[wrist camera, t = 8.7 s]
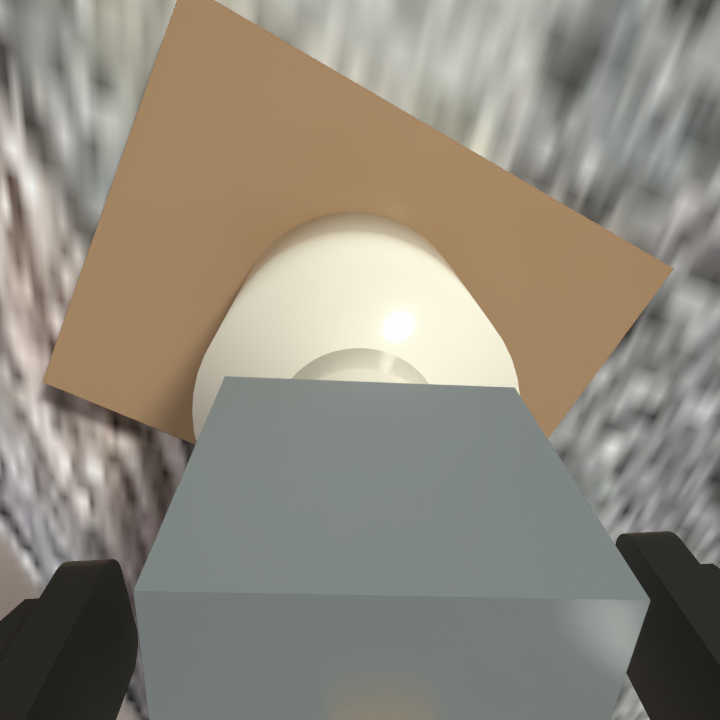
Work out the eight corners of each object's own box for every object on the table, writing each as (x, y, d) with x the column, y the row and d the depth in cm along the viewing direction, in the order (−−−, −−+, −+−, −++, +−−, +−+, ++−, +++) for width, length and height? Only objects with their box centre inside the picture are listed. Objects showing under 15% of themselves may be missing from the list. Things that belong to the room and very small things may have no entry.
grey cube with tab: (224, 375, 10) (111, 642, 5) (514, 387, 11) (682, 650, 5) (232, 600, 12) (156, 950, 7) (475, 603, 13) (570, 944, 7)
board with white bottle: (656, 260, 21) (942, 395, 11) (457, 535, 26) (533, 804, 16) (193, -10, 18) (-3, -172, 7) (57, 368, 22) (-177, 583, 12)
